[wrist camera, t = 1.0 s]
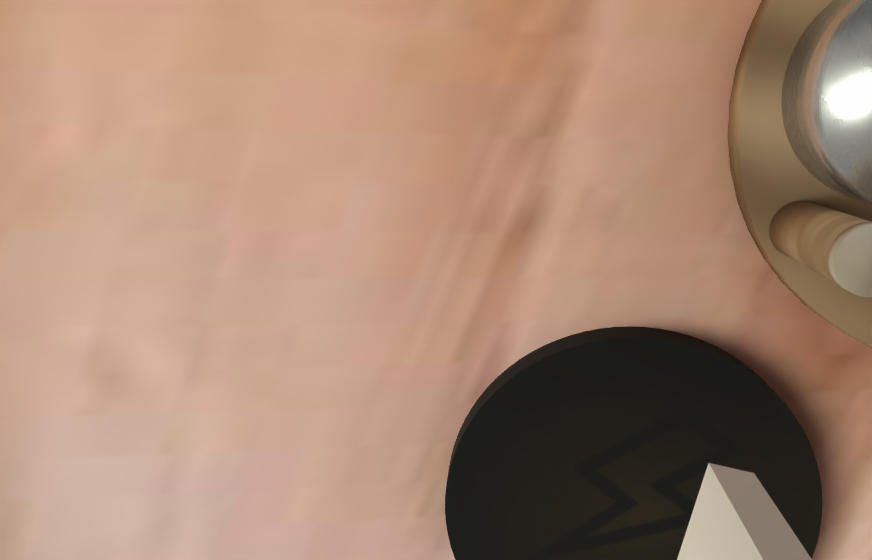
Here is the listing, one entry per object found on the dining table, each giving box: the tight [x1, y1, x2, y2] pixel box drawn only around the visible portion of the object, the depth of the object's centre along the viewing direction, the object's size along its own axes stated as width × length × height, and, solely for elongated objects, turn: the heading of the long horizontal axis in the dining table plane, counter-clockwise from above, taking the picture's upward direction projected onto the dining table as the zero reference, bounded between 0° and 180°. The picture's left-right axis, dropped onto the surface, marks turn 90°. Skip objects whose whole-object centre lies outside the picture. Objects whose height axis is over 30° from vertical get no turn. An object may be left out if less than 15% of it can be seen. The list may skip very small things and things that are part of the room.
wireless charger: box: [445, 327, 822, 560], centre depth 37 cm, size 18×18×2 cm
